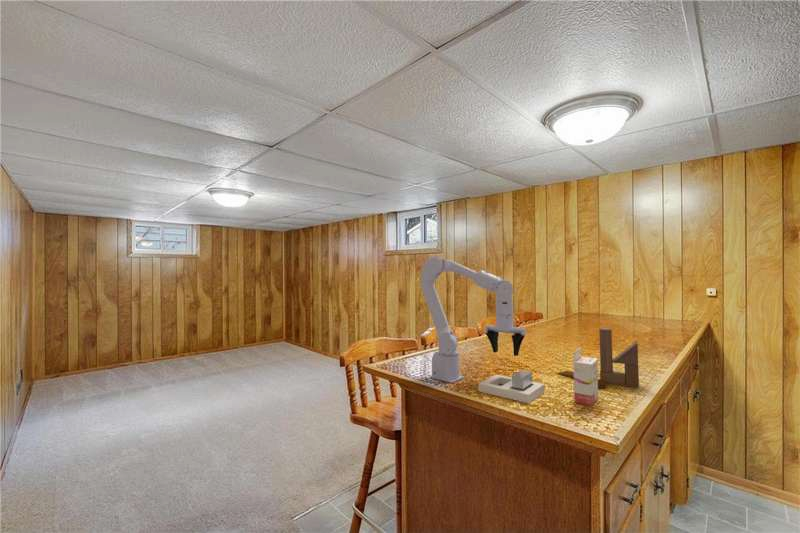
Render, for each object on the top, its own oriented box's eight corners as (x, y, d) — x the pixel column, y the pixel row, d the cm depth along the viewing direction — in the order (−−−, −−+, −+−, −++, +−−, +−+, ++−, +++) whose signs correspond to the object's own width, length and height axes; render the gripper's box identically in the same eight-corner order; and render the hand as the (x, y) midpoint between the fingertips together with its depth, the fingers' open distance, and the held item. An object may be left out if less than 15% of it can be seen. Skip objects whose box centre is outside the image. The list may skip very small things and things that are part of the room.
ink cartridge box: (593, 406, 98) (591, 353, 98) (573, 402, 101) (572, 351, 101) (599, 397, 104) (597, 348, 104) (580, 394, 107) (579, 346, 108)
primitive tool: (555, 374, 129) (555, 364, 129) (567, 372, 131) (567, 363, 131) (599, 391, 111) (599, 380, 111) (613, 389, 112) (612, 378, 112)
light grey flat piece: (478, 391, 112) (478, 383, 112) (496, 381, 121) (496, 374, 121) (528, 403, 101) (528, 394, 101) (544, 392, 110) (544, 384, 110)
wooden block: (639, 387, 112) (637, 331, 112) (600, 383, 117) (598, 329, 117) (637, 384, 115) (636, 329, 115) (600, 380, 120) (598, 327, 120)
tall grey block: (512, 394, 107) (511, 375, 107) (521, 388, 112) (521, 370, 112) (523, 397, 105) (522, 377, 105) (532, 391, 110) (532, 371, 110)
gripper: (529, 314, 120) (530, 354, 120) (491, 312, 130) (492, 348, 130) (521, 317, 115) (522, 358, 115) (481, 314, 125) (482, 352, 124)
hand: (505, 353), depth 122 cm, fingers open, 7 cm apart
